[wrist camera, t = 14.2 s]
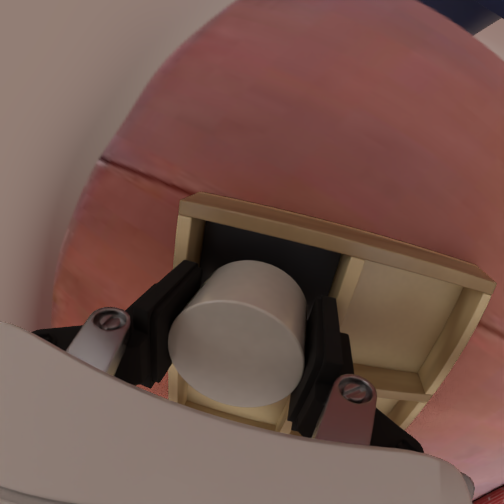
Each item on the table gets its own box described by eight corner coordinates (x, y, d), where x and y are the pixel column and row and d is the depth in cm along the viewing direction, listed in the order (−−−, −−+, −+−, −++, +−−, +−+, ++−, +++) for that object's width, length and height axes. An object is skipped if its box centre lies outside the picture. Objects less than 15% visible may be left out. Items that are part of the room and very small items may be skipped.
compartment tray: (200, 191, 13) (179, 199, 11) (476, 264, 11) (497, 283, 9) (179, 442, 20) (170, 461, 18) (336, 476, 18) (335, 496, 16)
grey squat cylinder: (206, 247, 11) (169, 281, 8) (321, 275, 10) (324, 323, 7) (195, 338, 12) (166, 385, 10) (291, 364, 12) (283, 419, 9)
